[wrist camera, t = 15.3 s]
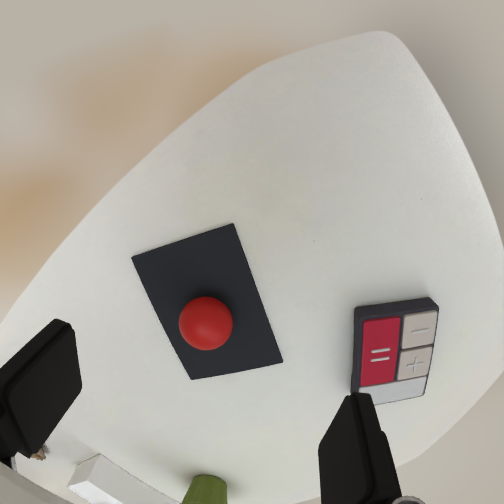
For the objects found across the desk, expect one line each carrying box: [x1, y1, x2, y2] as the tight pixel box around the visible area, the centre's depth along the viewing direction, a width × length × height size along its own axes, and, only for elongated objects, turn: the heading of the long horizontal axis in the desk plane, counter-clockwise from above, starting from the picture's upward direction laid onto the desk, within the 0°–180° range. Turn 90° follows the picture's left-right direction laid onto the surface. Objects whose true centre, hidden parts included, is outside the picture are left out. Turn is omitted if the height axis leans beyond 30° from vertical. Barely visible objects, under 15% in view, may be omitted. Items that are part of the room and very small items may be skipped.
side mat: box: [131, 224, 283, 380], centre depth 41 cm, size 20×14×1 cm
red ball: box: [179, 297, 233, 350], centre depth 37 cm, size 6×6×6 cm
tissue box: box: [67, 454, 181, 504], centre depth 55 cm, size 14×25×11 cm, turn 43°
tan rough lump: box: [31, 448, 46, 460], centre depth 57 cm, size 11×7×10 cm
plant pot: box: [181, 475, 227, 504], centre depth 49 cm, size 12×12×11 cm
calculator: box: [351, 298, 439, 405], centre depth 39 cm, size 11×4×15 cm
